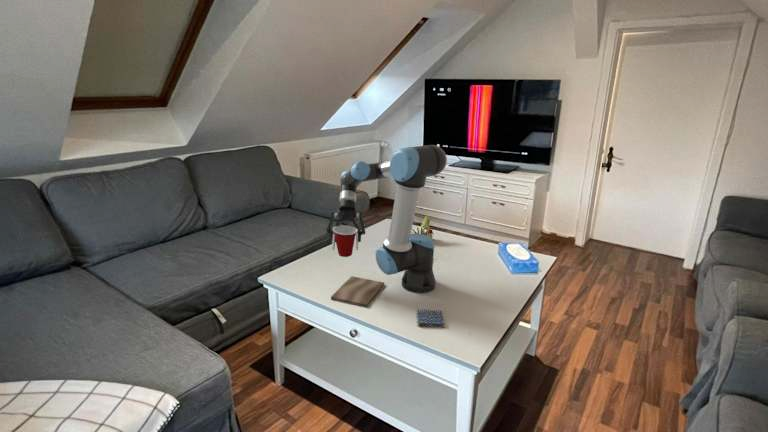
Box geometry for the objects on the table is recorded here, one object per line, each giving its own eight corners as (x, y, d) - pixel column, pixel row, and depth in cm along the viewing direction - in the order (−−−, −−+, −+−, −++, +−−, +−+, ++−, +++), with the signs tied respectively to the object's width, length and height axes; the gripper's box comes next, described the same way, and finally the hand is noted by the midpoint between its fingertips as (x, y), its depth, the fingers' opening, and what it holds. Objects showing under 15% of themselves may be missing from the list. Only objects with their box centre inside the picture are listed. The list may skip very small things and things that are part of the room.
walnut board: (384, 284, 183) (384, 282, 183) (366, 307, 166) (366, 304, 165) (351, 278, 189) (351, 276, 188) (331, 299, 171) (330, 296, 171)
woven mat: (442, 313, 163) (442, 309, 162) (445, 329, 153) (445, 324, 152) (415, 312, 163) (416, 308, 162) (417, 328, 153) (417, 323, 152)
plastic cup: (354, 260, 174) (354, 233, 171) (330, 258, 176) (329, 231, 173) (361, 250, 184) (360, 225, 181) (337, 248, 186) (337, 223, 183)
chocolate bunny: (415, 243, 229) (417, 217, 225) (426, 237, 238) (427, 213, 233) (426, 246, 226) (427, 220, 221) (436, 240, 234) (438, 215, 229)
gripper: (372, 206, 190) (371, 252, 179) (324, 206, 190) (320, 251, 180) (371, 198, 183) (370, 245, 173) (322, 198, 183) (317, 244, 173)
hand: (344, 248), depth 176 cm, fingers closed on plastic cup, 9 cm apart
